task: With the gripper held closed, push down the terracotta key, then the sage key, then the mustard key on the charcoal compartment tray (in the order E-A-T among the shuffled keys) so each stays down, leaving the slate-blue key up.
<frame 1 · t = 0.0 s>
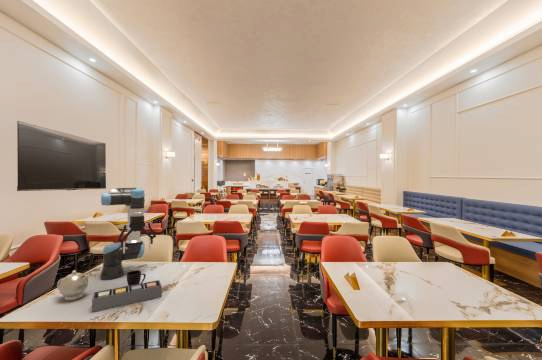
hand: (137, 251, 149), 28 cm above the table, fingers open, 13 cm apart
compartment tray: (128, 300, 146), on the table
mug: (136, 287, 164), on the table
key E: (151, 287, 152), point 5 cm above the table, slide at 0.0 cm
key S: (136, 290, 148), point 5 cm above the table, slide at 0.0 cm
key T: (120, 293, 144), point 5 cm above the table, slide at 0.0 cm
key A: (103, 296, 139), point 5 cm above the table, slide at 0.0 cm
teapot: (71, 298, 149), on the table
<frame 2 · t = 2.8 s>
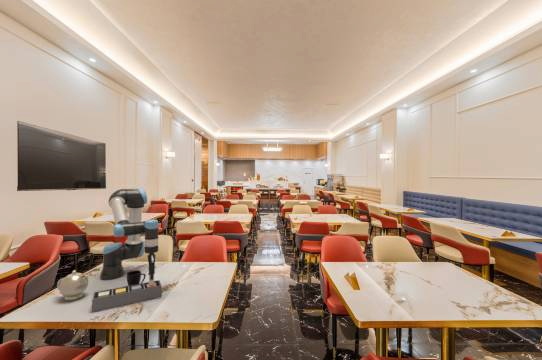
hand: (151, 284, 152), 7 cm above the table, fingers closed
key E: (151, 287, 152), point 5 cm above the table, slide at 0.3 cm, touching gripper
everything else where it was.
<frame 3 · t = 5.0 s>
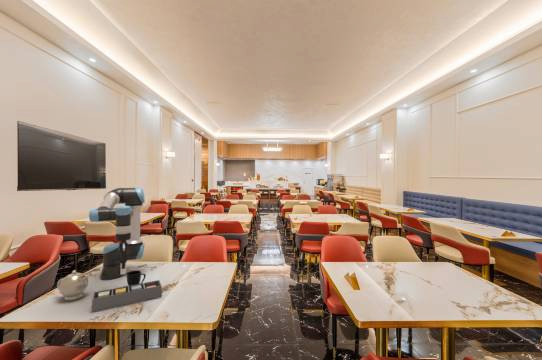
hand: (123, 273, 144), 16 cm above the table, fingers closed
key E: (151, 290, 152), point 3 cm above the table, slide at 1.9 cm
everything else where it was.
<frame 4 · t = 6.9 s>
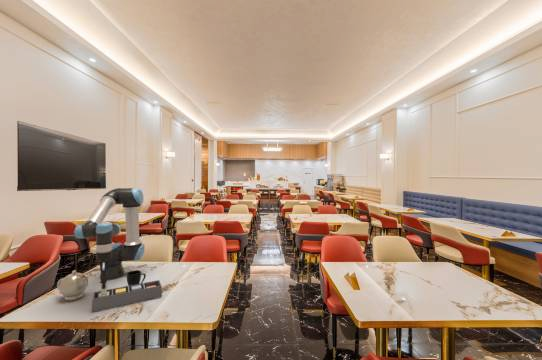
hand: (103, 293, 139), 7 cm above the table, fingers closed
key A: (103, 297, 139), point 5 cm above the table, slide at 0.3 cm, touching gripper
everything else where it was.
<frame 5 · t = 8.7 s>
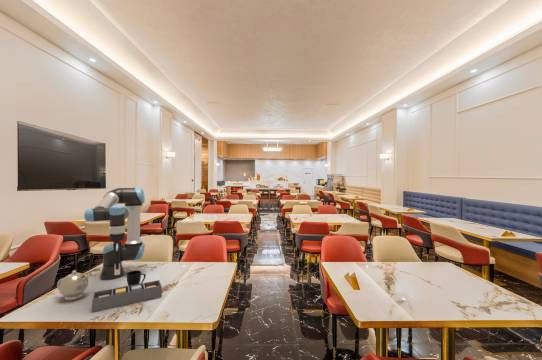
hand: (117, 274, 143), 16 cm above the table, fingers closed
key A: (103, 300, 139), point 3 cm above the table, slide at 1.9 cm
everything else where it was.
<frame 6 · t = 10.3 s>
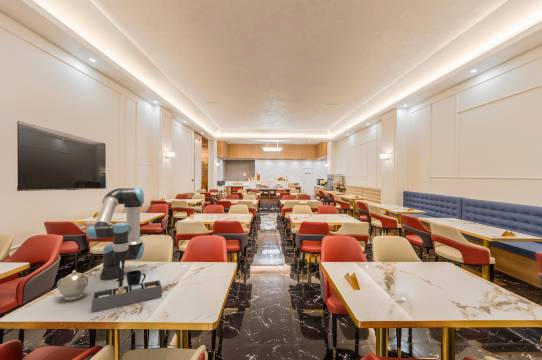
hand: (120, 291, 143), 6 cm above the table, fingers closed
key T: (120, 295, 144), point 4 cm above the table, slide at 0.9 cm, touching gripper
everything else where it was.
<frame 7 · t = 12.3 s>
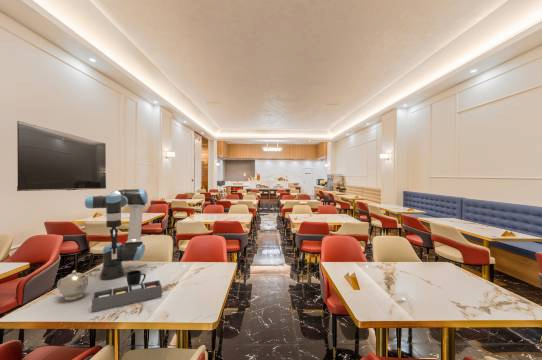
hand: (114, 258, 151), 23 cm above the table, fingers closed
key T: (120, 296, 144), point 3 cm above the table, slide at 1.9 cm
everything else where it was.
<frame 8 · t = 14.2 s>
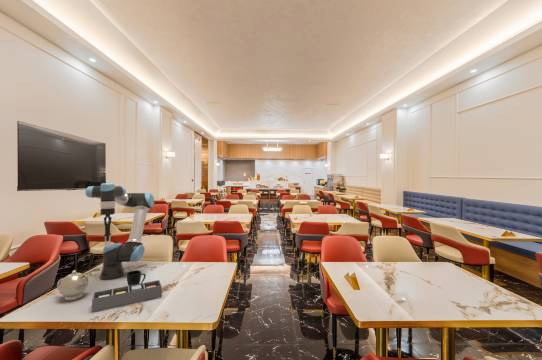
hand: (107, 245, 156), 29 cm above the table, fingers closed
nothing on the table moved.
at the end: key E slide at 1.9 cm; key A slide at 1.9 cm; key T slide at 1.9 cm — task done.
